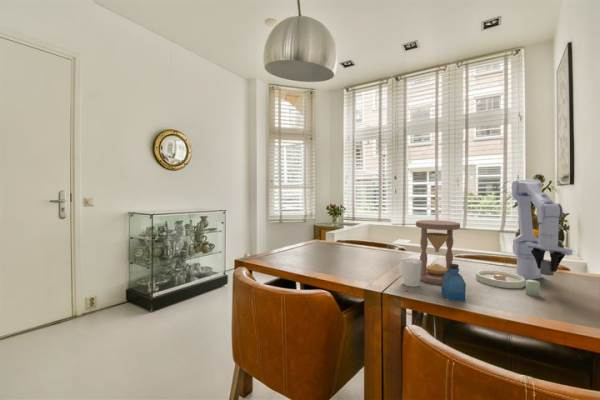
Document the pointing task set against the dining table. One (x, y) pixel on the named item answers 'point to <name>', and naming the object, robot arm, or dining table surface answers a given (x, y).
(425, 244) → the hourglass
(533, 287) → the pale green rounded block
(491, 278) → the groove tray
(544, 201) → the robot arm
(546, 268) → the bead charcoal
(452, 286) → the perfume bottle
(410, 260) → the white cup
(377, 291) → the dining table surface
